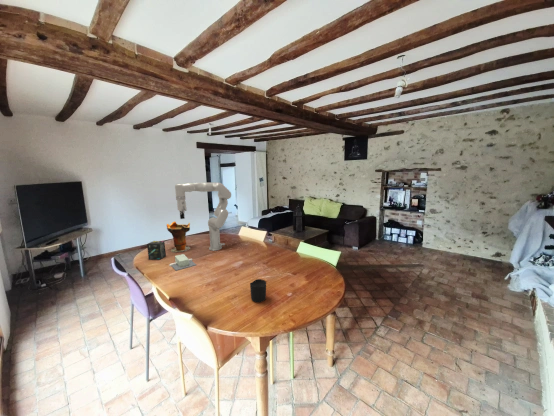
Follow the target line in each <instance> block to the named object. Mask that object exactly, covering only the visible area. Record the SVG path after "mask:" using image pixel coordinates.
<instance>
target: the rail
mask: <svg viewBox="0 0 554 416" xmlns="http://www.w3.org/2000/svg"><path fill="white" fill-rule="evenodd" d="M188 259H189V261H193V258H188ZM176 264H177V263H176V262H173V263H169V267H171V268H172V265H176Z"/></svg>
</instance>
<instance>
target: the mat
mask: <svg viewBox="0 0 554 416" xmlns="http://www.w3.org/2000/svg"><path fill="white" fill-rule="evenodd" d="M195 266H197V263H195V262H194V261H193V260H192V261H189V265H187V266H183V267H179V265H178V264H176V265H172V266H171V268H172V269H173V270H174V271H176V272H177V271H181V270H184V269H188V268H191V267H192V268H193V267H195Z"/></svg>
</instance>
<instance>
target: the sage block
mask: <svg viewBox="0 0 554 416" xmlns="http://www.w3.org/2000/svg"><path fill="white" fill-rule="evenodd" d="M189 259H190V258H189V257H187V256H186V255H185V254H184V253H181V254H177V255H175V256H174V261H175V262H174V263H177V264H178V265H179V267H183V266H187V265H189Z"/></svg>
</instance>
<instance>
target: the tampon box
mask: <svg viewBox="0 0 554 416" xmlns="http://www.w3.org/2000/svg"><path fill="white" fill-rule="evenodd" d="M146 246H147V255H148V256H147V257H148V261H153V260H155V261H156V260H157V261H160V260H162V259H164V258H165V257H166V256H167V252H166V243H165V240H164V241H163V240H153V241H150V242H149V243H148V242H147V244H146Z"/></svg>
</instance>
